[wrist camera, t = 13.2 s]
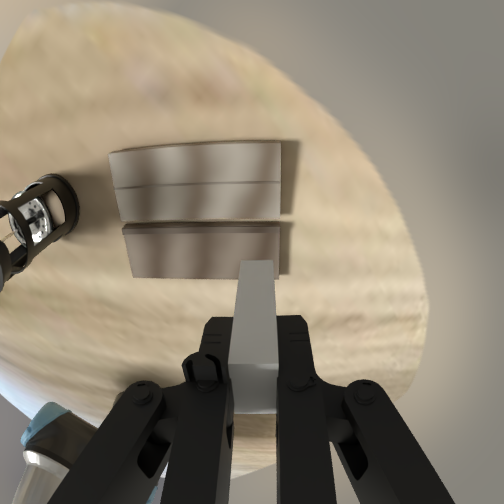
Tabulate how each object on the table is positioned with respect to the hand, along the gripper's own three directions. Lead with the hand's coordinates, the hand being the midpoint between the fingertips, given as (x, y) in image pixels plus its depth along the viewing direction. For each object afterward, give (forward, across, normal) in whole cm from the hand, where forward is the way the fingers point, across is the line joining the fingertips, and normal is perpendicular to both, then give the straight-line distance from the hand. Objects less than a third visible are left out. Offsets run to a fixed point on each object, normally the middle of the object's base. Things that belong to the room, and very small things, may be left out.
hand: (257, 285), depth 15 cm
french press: (+24, -30, -2) cm, 38 cm away
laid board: (+23, -8, -9) cm, 26 cm away
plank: (+22, -8, 0) cm, 24 cm away
